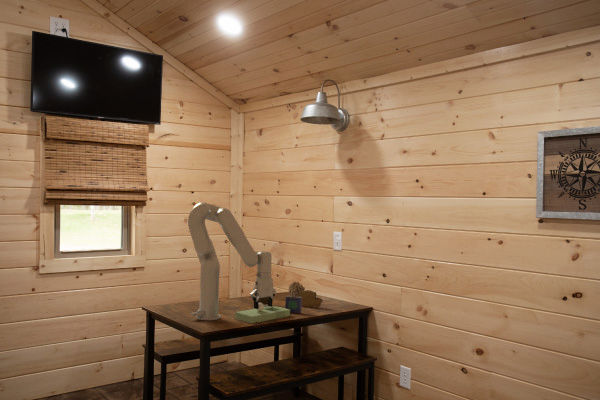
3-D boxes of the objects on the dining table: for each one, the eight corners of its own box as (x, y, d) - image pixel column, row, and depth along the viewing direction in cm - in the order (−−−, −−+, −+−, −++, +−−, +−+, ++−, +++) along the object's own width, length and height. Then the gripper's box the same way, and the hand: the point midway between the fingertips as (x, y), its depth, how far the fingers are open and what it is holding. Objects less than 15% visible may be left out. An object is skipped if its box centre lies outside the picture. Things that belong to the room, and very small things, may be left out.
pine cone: (283, 295, 328) (284, 280, 329) (296, 294, 334) (296, 279, 334) (303, 302, 310) (303, 285, 310) (315, 300, 316) (316, 284, 316)
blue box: (301, 312, 280) (302, 293, 280) (300, 314, 277) (301, 294, 277) (285, 311, 282) (286, 292, 282) (284, 312, 279) (285, 293, 279)
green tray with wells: (251, 323, 252) (251, 316, 252) (235, 318, 261) (235, 312, 261) (289, 315, 271) (290, 309, 271) (273, 311, 280) (273, 305, 281)
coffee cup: (268, 311, 281) (269, 290, 281) (250, 310, 283) (250, 288, 283) (273, 307, 291) (274, 286, 291) (255, 306, 294) (256, 285, 294)
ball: (260, 303, 262) (266, 303, 265) (254, 301, 265) (260, 302, 268) (258, 312, 261) (265, 312, 264) (253, 310, 264) (259, 310, 267)
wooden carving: (323, 307, 296) (323, 290, 296) (321, 309, 292) (322, 291, 292) (296, 305, 300) (296, 288, 300) (294, 306, 296) (294, 289, 296)
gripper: (256, 277, 257) (255, 310, 257) (280, 274, 270) (279, 306, 269) (246, 275, 262) (245, 308, 262) (271, 272, 275) (270, 304, 275)
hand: (263, 307), depth 266 cm, fingers open, 9 cm apart
